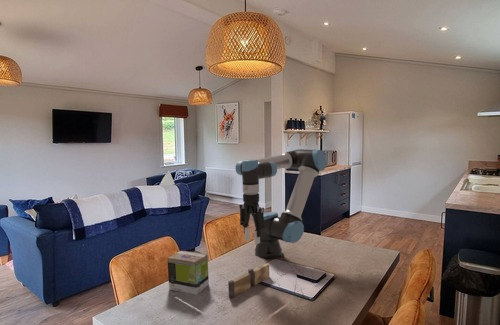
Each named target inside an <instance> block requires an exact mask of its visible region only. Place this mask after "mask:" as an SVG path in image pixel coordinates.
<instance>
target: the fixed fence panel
mask: <svg viewBox="0 0 500 325" xmlns="http://www.w3.org/2000/svg"><path fill="white" fill-rule="evenodd" d="M227 288H228V298H229V299H234V298H235V297H236V296H238V295H240V294H242V293H244V292H245V291H248V289H250V288H252V287H251V285H250V274H248V272H247V273H246V272H245V273H244V274H243V275H240V276H238V277H236V278H234V279H232V280H229V281H228V287H227Z"/></svg>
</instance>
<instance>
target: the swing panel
mask: <svg viewBox="0 0 500 325" xmlns="http://www.w3.org/2000/svg"><path fill="white" fill-rule="evenodd" d="M247 273H248V274H250V285H251V287H250V288H252V287H254V286H256V285H257V284H258V285H259V283H261V282H262V281H265V280H267V279H268V278H270V264H269V263H266V262H265V263H263V264H262V265H260V266H258V267H255V268H254V269H253V268H249V269H248V270H247Z"/></svg>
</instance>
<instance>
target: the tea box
mask: <svg viewBox="0 0 500 325" xmlns="http://www.w3.org/2000/svg"><path fill="white" fill-rule="evenodd" d="M208 260H209V259H208V254H206V253H200V252H193V251H186V250H180V251H178V252H176V253H174V254H172V255H170V256H169V257H167V274H168V289H169V290H170V291H175V292H181V293H182V292H183V293H187V294H192V295H195V296H197V295H198V294H200V293H201V292H202V291H203V290H204V289H206V288H207V287H209V285H210V284H209V283H210V282H209V280H210V279H209V276H210V275H209V261H208Z"/></svg>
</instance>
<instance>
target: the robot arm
mask: <svg viewBox="0 0 500 325" xmlns="http://www.w3.org/2000/svg"><path fill="white" fill-rule="evenodd" d="M326 167H327V157H326V154H325V152H324V151H323V150H321V149H316V148H315V149H301V148H299V149H294V150H289V151H285V152H282V153H281V154H278V155H274V156H267V157H262V158H258V159H257V158H256V159H255V158H254V159H252V158H251V159H244V160H241V161H237V163H236V165H235V172H236V174H237V175H238V176H241V178H242V193H243V194H242V201H243V204H239V205H238V206H239V225H240V226H242V227H243V234H244V242H249V241H250V240H251V234H250V233H251V232H250V231H251V230H250V229H251V228H250V225H249V223H250V218H251V216H252V220H253V222H254V228H255V229H254V244H255V245H256V246H255V250H254V255H255V257H259V258H261V259H266V260H271V259H272V260H273V259H277V258H280V257H281V256H282V255H283V250H282V246H281V243H280V241H283V242H285V243H290V244H295V243H297V242H299V241H300V240H301V238H302V237H303V235H304V231H305V226H304V224H303V218H302V214H303V211H304V209H305V206H306V203H307V200H308V197H309V194H310V191H311V188H312V185H313V182H314V180H315V178H316V177H318V176H319V174H320V172H322V171H324V170H326ZM280 169H284V170H287V169H295V170H298V171H299V173H298V176H297V179H296V181H295V184H294V187H293V190H292V192H291V195H290V198H289V200H288V203H287V205H286V209H285V210H284V211H282V212H281V214H280V216H279V214H278V212H277V211H276V212H275V211H271V212H269V211H268V212H264V211H265V208H264V207H261V206H260V204H259V202H260V179H262V180H263V179H268V178H272V177H274V176H276V174H277V173H278V170H280ZM279 240H280V241H279Z"/></svg>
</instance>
